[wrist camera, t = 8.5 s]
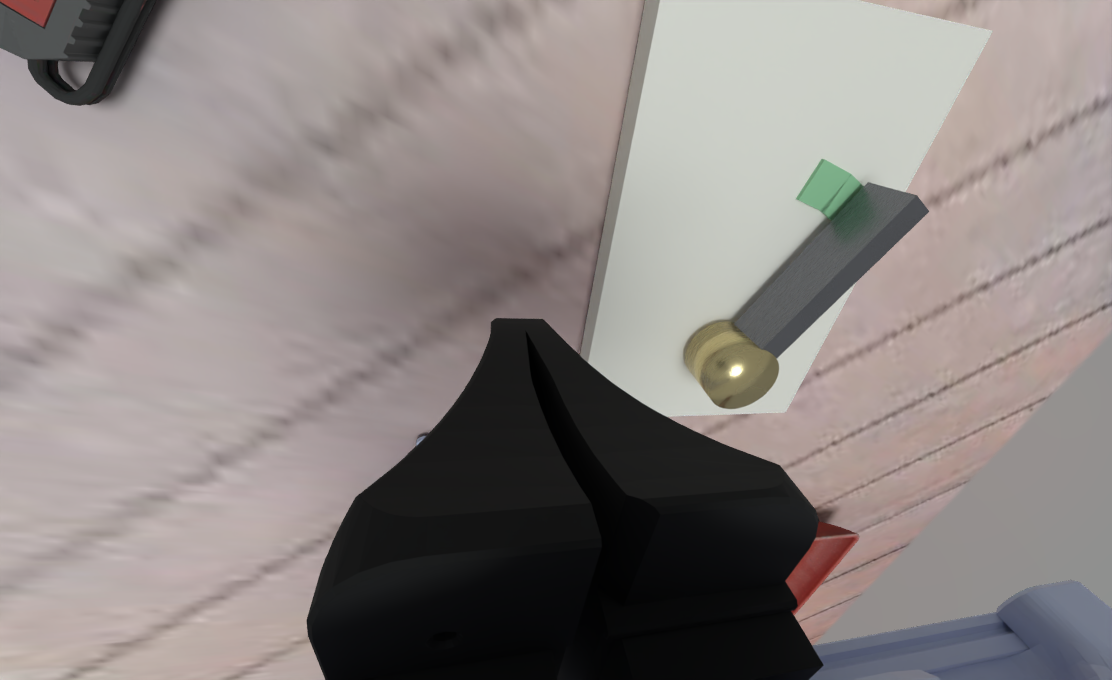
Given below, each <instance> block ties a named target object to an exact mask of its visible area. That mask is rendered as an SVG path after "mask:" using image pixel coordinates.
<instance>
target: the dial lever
mask: <svg viewBox="0 0 1112 680" xmlns="http://www.w3.org/2000/svg"><path fill="white" fill-rule="evenodd" d="M928 212H929V211H928V209H927V208H926V207H925V205H924V204H923V203H922V202H921V200H920V199H919V198H918V196H917V195H914V194H910V193H906V192H903V191H899V190H895V189H892V188H888V187H884V186H880V185H877V184H873V183H869V182H868V183H867V184H866V185H865V186H864V187H863V188H862V189H861V190H860V191H859V192H858V193H857V194H856V195H855V197H854V198H853V199H852V200H851V201H850V202H849V203H848V204H847V205H846V206H845V207H844V208H843V209H842V210H841V211H840V212H839V213H838V214H837V216H836V217H835V218H834V219H833V220H832V221H831V222H830V223H829V224H828V225H827V226H826V227H825V228H824V229H823V230H822V231H821V232H820V234H819V235H818V236H817V237H816V238H815V239H814V240H813V241H812V242H811V243H810V244H809V245H808V246H807V247H806V248H805V249H804V250H803V251H802V253H801V254H800V255H799V256H798V257H797V258H796V259H795V260H794V261H793V262H792V263H791V264H790V265H789V266H788V267H787V268H786V269H785V270H784V272H783V273H782V274H781V275H780V276H779V277H778V278H777V279H776V280H775V281H774V282H773V283H772V284H771V285H770V286H769V287H768V288H767V290H766V291H765V292H764V293H763V294H762V295H761V296H760V297H759V298H758V299H757V300H756V301H755V302H754V303H753V304H752V305H751V306H750V307H749V309H748V310H747V311H746V312H745V313H744V314H743V315H742V316H741V317H740V318H739V319H738V320H737V321H736V322H727V321H726V322H719V323H715V324H712V325H710V326H708V327H706V328H705V329H703V330H702V331H700V332H699V333H698V334H697V335H696V336H695V337H694V338H693V339H692V341H691V342H690V344H689V345H688V347H687V350H686V353H685V364H686V366H687V368H688V370H689V371H690V372H691V374H692V375H693V376H694V378H695V379H696V380H697V382H698V383H699V384H700V386H701V387H702V388H703V390H704V391H705V392H706V394H707V395H708V396H709V398H710V399H711V400H712V402H713V403H714V404H715V405H717V406H718V407H721V408H724V409H737V408H742V407H745V406H747V405H750V404H752V403H754V402H755V401H757V400H759V399H760V398H761V397H763V396H764V395H765V394H766V393H767V392H768V391H769V390H770V389H771V388H772V386H773V385H774V383H775V381H776V379H777V377H778V373H779V363H778V361H777V358H778V357H779V356H780V355H781V354H782V353H783V352H784V351H785V350H786V349H787V348H788V347H789V346H790V345H792V344H793V343H794V342H795V341H796V340H797V339H798V338H799V337H800V336H801V335H802V334H803V333H804V332H805V331H806V330H807V329H808V328H809V327H810V326H811V325H812V324H813V323H814V322H815V321H816V320H817V319H818V318H820V317H821V316H822V315H823V314H824V313H825V312H826V311H827V310H828V309H829V308H830V307H831V306H832V305H833V304H834V303H835V302H836V301H837V300H838V299H839V298H840V297H841V296H842V295H843V294H844V293H845V292H846V291H847V290H849V289H850V288H851V287H852V286H853V285H854V284H855V283H856V282H857V281H858V280H859V279H860V278H861V277H862V276H863V275H864V274H865V273H866V272H867V271H868V270H869V269H870V268H871V267H872V266H873V265H874V264H875V263H876V262H878V261H879V260H880V259H881V258H882V257H883V256H884V255H885V254H886V253H887V252H888V251H889V250H890V249H891V248H892V247H893V246H894V245H895V244H896V243H897V242H898V241H899V240H900V239H901V238H902V237H903V236H904V235H906V234H907V233H908V232H909V231H910V230H911V229H912V228H913V227H914V226H915V225H916V224H917V223H918V222H919V221H920V220H921V219H922V218H923V217H924V216H925V215H926V214H927V213H928Z"/></svg>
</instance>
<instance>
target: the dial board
mask: <svg viewBox="0 0 1112 680" xmlns="http://www.w3.org/2000/svg"><path fill="white" fill-rule="evenodd" d="M992 32H993V31H991V30H987V29H982V28H978V27H974V26H969V25H965V24H960V23H956V22H952V21H947V20H943V19H939V18H934V17H930V16H925V15H921V14H917V13H912V12H908V11H904V10H899V9H895V8H890V7H886V6H882V5H877V4H873V3H869V2H864V1H860V0H645V4H644V10H643V15H642V21H641V26H640V32H639V37H638V42H637V48H636V53H635V59H634V64H633V70H632V75H631V80H630V86H629V91H628V97H627V102H626V108H625V113H624V118H623V124H622V129H621V135H620V140H619V146H618V151H617V156H616V162H615V167H614V173H613V178H612V184H611V189H610V194H609V200H608V205H607V211H606V216H605V222H604V227H603V232H602V238H601V243H600V249H599V254H598V260H597V265H596V270H595V276H594V281H593V287H592V292H591V298H590V303H589V308H588V314H587V319H586V325H585V330H584V336H583V341H582V346H581V352H580V356H581V357H582V358H583V359H584V360H585V361H587V362H588V363H589V364H590V365H591V366H592V367H593V368H595V369H596V370H597V371H598V372H600V373H601V374H602V375H603V376H605V377H606V378H607V379H608V380H610V381H611V382H612V383H614V384H615V385H616V386H618V387H619V388H621V389H622V390H624V391H625V392H627V393H628V394H629V395H631V396H632V397H634V398H635V399H637V400H638V401H640V402H642V403H643V404H645V405H647V406H648V407H650V408H652V409H653V410H655V411H657V412H659V413H661V414H662V415H664V416H666V417H671V416H699V415H726V414H754V413H781V412H786V411H787V409H788V407H789V405H790V403H791V401H792V399H793V398H794V396H795V394H796V392H797V390H798V388H799V387H800V385H801V383H802V381H803V379H804V377H805V376H806V374H807V372H808V370H809V368H810V366H811V365H812V363H813V361H814V359H815V357H816V355H817V353H818V352H819V350H820V348H821V346H822V344H823V342H824V341H825V339H826V337H827V335H828V333H829V331H830V330H831V328H832V326H833V324H834V322H835V320H836V319H837V317H838V315H839V313H840V311H841V309H842V307H843V306H844V304H845V302H846V300H847V298H848V296H849V295H850V293H851V291H852V289H853V287H854V285H855V284H856V283H855V284H854V285H853V286H852V287H851V288H850V289H849V290H847V291H846V292H845V293H844V294H843V295H842V296H841V297H840V298H839V299H838V300H837V301H836V302H835V303H834V304H833V305H832V306H831V307H830V308H829V309H828V310H827V311H826V312H825V313H824V314H823V315H822V316H821V317H820V318H818V319H817V320H816V321H815V322H814V323H813V324H812V325H811V326H810V327H809V328H808V329H807V330H806V331H805V332H804V333H803V334H802V335H801V336H800V337H799V338H798V339H797V340H796V341H795V342H794V343H793V344H792V345H790V346H789V347H788V348H787V349H786V350H785V351H784V352H783V353H782V354H781V355H780V356H779V357H778V358H777V361H778V363H779V373H778V377H777V379H776V381H775V383H774V385H773V386H772V388H771V389H770V390H769V391H768V392H767V393H766V394H765V395H764V396H763V397H761V398H760V399H759V400H757V401H755V402H754V403H752V404H750V405H747V406H745V407H742V408H737V409H724V408H721V407H718V406H717V405H715V404H714V403H713V402H712V400H711V399H710V398H709V396H708V395H707V394H706V392H705V391H704V390H703V388H702V387H701V386H700V384H699V383H698V382H697V380H696V379H695V378H694V376H693V375H692V374H691V372H690V371H689V370H688V368H687V366H686V364H685V353H686V350H687V347H688V345H689V344H690V342H691V341H692V339H693V338H694V337H695V336H696V335H697V334H698V333H699V332H700V331H702V330H703V329H705V328H706V327H708V326H710V325H712V324H715V323H719V322H726V321H727V322H736V321H737V320H738V319H739V318H740V317H741V316H742V315H743V314H744V313H745V312H746V311H747V310H748V309H749V307H750V306H751V305H752V304H753V303H754V302H755V301H756V300H757V299H758V298H759V297H760V296H761V295H762V294H763V293H764V292H765V291H766V290H767V288H768V287H769V286H770V285H771V284H772V283H773V282H774V281H775V280H776V279H777V278H778V277H779V276H780V275H781V274H782V273H783V272H784V270H785V269H786V268H787V267H788V266H789V265H790V264H791V263H792V262H793V261H794V260H795V259H796V258H797V257H798V256H799V255H800V254H801V253H802V251H803V250H804V249H805V248H806V247H807V246H808V245H809V244H810V243H811V242H812V241H813V240H814V239H815V238H816V237H817V236H818V235H819V234H820V232H821V231H822V230H823V229H824V228H825V227H826V226H827V225H828V224H829V223H830V222H831V221H832V220H833V219H834V218H835V217H836V216H837V214H838V213H839V212H840V211H841V210H842V209H843V208H844V207H845V206H846V205H847V204H848V203H849V202H850V201H851V200H852V199H853V198H854V197H855V195H856V194H857V193H858V192H859V191H860V190H861V189H862V188H863V187H864V186H865V185H866V184H867V183H868V182H869V183H873V184H877V185H880V186H884V187H888V188H892V189H895V190H899V191H903V192H906V190H907V188H908V186H909V184H910V182H911V181H912V179H913V177H914V175H915V173H916V171H917V170H918V168H919V166H920V164H921V162H922V160H923V158H924V157H925V155H926V153H927V151H928V149H929V147H930V146H931V144H932V142H933V140H934V138H935V136H936V135H937V133H938V131H939V129H940V127H941V125H942V124H943V122H944V120H945V118H946V116H947V114H948V112H949V111H950V109H951V107H952V105H953V103H954V101H955V100H956V98H957V96H958V94H959V92H960V90H961V89H962V87H963V85H964V83H965V81H966V79H967V78H968V76H969V74H970V72H971V70H972V68H973V66H974V65H975V63H976V61H977V59H978V57H979V55H980V54H981V52H982V50H983V48H984V46H985V44H986V43H987V41H988V39H989V37H990V35H991V33H992Z"/></svg>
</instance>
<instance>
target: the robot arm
mask: <svg viewBox="0 0 1112 680" xmlns="http://www.w3.org/2000/svg"><path fill="white" fill-rule="evenodd" d="M818 523H819V519H818V516H817V513H816V510H815V509H814V507H813V506H812V505H811V504H810V502H809V501H808V500H807V499H806V497H805V496H804V495H803V494H802V492H801V491H800V490H799V489H798V487H797V486H796V485H795V484H794V482H793V481H792V480H791V479H790V477H789V476H788V475H787V474H786V472H785V471H784V470H783V469H782V468H781V466H780V465H778V464H775V463H772V462H770V461H767V460H764V459H762V458H759V457H756V456H754V455H751V454H748V453H745V452H743V451H740V450H737V449H735V448H732V447H729V446H727V445H724V444H722V443H720V442H717V441H715V440H713V439H711V438H709V437H706V436H704V435H702V434H700V433H697V432H695V431H693V430H691V429H689V428H687V427H685V426H683V425H681V424H679V423H677V422H675V421H673V420H671V419H670V418H668V417H666V416H664V415H662V414H661V413H659V412H657V411H655V410H653V409H652V408H650V407H648V406H647V405H645V404H643V403H642V402H640V401H638V400H637V399H635V398H634V397H632V396H631V395H629V394H628V393H627V392H625V391H624V390H622V389H621V388H619V387H618V386H616V385H615V384H614V383H612V382H611V381H610V380H608V379H607V378H606V377H605V376H603V375H602V374H601V373H600V372H598V371H597V370H596V369H595V368H593V367H592V366H591V365H590V364H589V363H588V362H587V361H585V360H584V359H583V358H582V357H581V356H580V355H579V354H578V353H577V352H576V351H575V350H573V349H572V348H571V347H570V346H569V345H568V344H567V343H566V342H565V341H564V340H563V339H562V338H561V337H560V336H559V335H558V334H557V333H556V332H555V331H554V330H553V329H552V328H551V327H550V325H549V324H548V323H547V322H546V321H544V320H543V319H510V318H496V319H494V320H493V321H492V322H491V334H490V338H489V341H488V344H487V347H486V349H485V351H484V354H483V356H482V359H481V361H480V363H479V365H478V367H477V368H476V370H475V372H474V374H473V376H472V378H471V379H470V381H469V383H468V384H467V386H466V387H465V389H464V391H463V392H462V394H461V395H460V396H459V398H458V399H457V401H456V402H455V403H454V405H453V406H452V407H451V409H450V410H449V411H448V412H447V413H446V415H445V416H444V417H443V418H442V420H441V421H440V422H439V423H438V424H437V425H436V426H435V428H434V429H433V430H432V431H431V432H430V433H429V434H428V435H427V436H422V437H420V438H418V439H417V441H416V447H415V448H414V449H413V450H412V451H411V452H410V453H409V454H408V455H407V456H406V457H404V458H403V459H402V460H401V461H400V462H399V463H398V464H397V465H395V466H394V467H393V468H392V469H391V470H389V471H388V472H387V473H386V474H384V475H383V476H382V477H381V478H379V479H378V480H377V481H376V482H374V483H373V484H372V485H371V486H369V487H368V488H367V489H366V490H364V491H363V492H362V493H361V494H359V495H358V496H357V497H356V498H355V499H354V501H353V503H352V505H351V507H350V508H349V510H348V512H347V514H346V516H345V518H344V520H343V522H342V523H341V526H340V528H339V530H338V532H337V534H336V536H335V538H334V540H333V542H332V545H331V547H330V550H329V552H328V554H327V557H326V559H325V561H324V564H323V567H322V570H321V572H320V576H319V579H318V583H317V586H316V590H315V593H314V597H313V600H312V604H311V607H310V610H309V614H308V617H307V630H308V637H309V639H310V642H311V644H312V647H313V649H314V652H315V655H316V657H317V660H318V662H319V665H320V667H321V670H322V672H323V675H324V677H325V680H1112V609H1111V608H1110V607H1109V606H1108V605H1106V604H1105V603H1104V602H1103V601H1102V600H1100V599H1099V598H1098V597H1097V596H1096V595H1095V594H1093V593H1092V592H1091V591H1090V590H1089V589H1087V588H1086V587H1085V586H1084V585H1082V584H1081V583H1080V582H1078V581H1073V580H1068V581H1062V582H1056V583H1051V584H1044V585H1039V586H1034V587H1030V588H1027V589H1025V590H1023V591H1020V592H1018V593H1016V594H1015V595H1013V596H1012V597H1010V598H1009V599H1007V600H1006V601H1005V602H1003V603H1002V604H1001V605H1000V606H999V607H998V608H997V612H993V613H988V614H982V615H977V616H971V617H966V618H960V619H955V620H950V621H944V622H939V623H933V624H928V625H922V626H917V627H911V628H906V629H901V630H895V631H890V632H884V633H879V634H874V635H868V636H863V637H857V638H851V639H846V640H841V641H835V642H830V643H824V644H819V645H813V646H812V645H811V643H810V641H809V640H808V638H807V636H806V635H805V633H804V631H803V630H802V628H801V627H800V625H799V623H798V622H797V620H796V618H795V617H794V615H793V613H792V612H791V611H794V610H795V609H796V608H797V607H798V603H797V599H796V597H795V596H794V594H793V593H792V591H791V590H790V588H789V586H788V585H787V583H786V582H785V581H786V579H787V578H788V577H789V575H790V574H791V573H792V571H793V570H794V569H795V567H796V566H797V565H798V563H799V562H800V561H801V559H802V558H803V557H804V555H805V554H806V553H807V551H808V550H809V549H810V547H811V545H812V543H813V542H814V540H815V538H816V534H817V529H818Z"/></svg>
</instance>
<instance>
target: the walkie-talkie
mask: <svg viewBox="0 0 1112 680" xmlns="http://www.w3.org/2000/svg"><path fill="white" fill-rule="evenodd" d="M155 1H156V0H0V48H2V49H4V50H6V51H8V52H10V53H13V54H15V55H17V56H19V57H21V58H23V59H27V60H28V69H29V71H30V73H31V74H32V76H33V78H34V80H35V81H36V82H37V83H38V84H39V85H40V86H41V87H42V88H44V89H45V90H46V91H47V92H48V93H49V94H50V95H52V96H53V97H54V98H55V99H58V100H60V101H62V102H64V103H67V104H70V105H79V106H81V105H85V104H86V105H91V104H96V103H99V102H100V101H101V100H102V99H104V98H105V97H106V96H108V95H109V94H110V93H111V91H112V89H113V87H114V85H115V83H116V81H117V79H118V77H119V75H120V72H121V70H122V68H123V66H124V64H125V62H126V60H127V58H128V56H129V54H130V52H131V50H132V48H133V46H134V44H135V42H136V40H137V38H138V36H139V34H140V32H141V30H142V28H143V26H144V24H145V22H146V20H147V18H148V16H149V14H150V12H151V10H152V8H153V6H154V4H155ZM59 60H61V61H87V62H95V63H94V65H93V68H92V70H91V72H90V74H89V76H88V78H87V80H86V83H85V84H84V85H83V86H82V87H81V88H80V89H78V90H74V89H73V88H72V87H71V86H70V85H69V84H67V83H66V82H65V81H64V80H63V79H62V78H61V76H60V75H59V72H58V61H59Z"/></svg>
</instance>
